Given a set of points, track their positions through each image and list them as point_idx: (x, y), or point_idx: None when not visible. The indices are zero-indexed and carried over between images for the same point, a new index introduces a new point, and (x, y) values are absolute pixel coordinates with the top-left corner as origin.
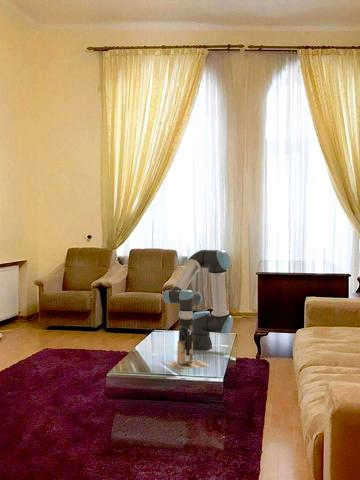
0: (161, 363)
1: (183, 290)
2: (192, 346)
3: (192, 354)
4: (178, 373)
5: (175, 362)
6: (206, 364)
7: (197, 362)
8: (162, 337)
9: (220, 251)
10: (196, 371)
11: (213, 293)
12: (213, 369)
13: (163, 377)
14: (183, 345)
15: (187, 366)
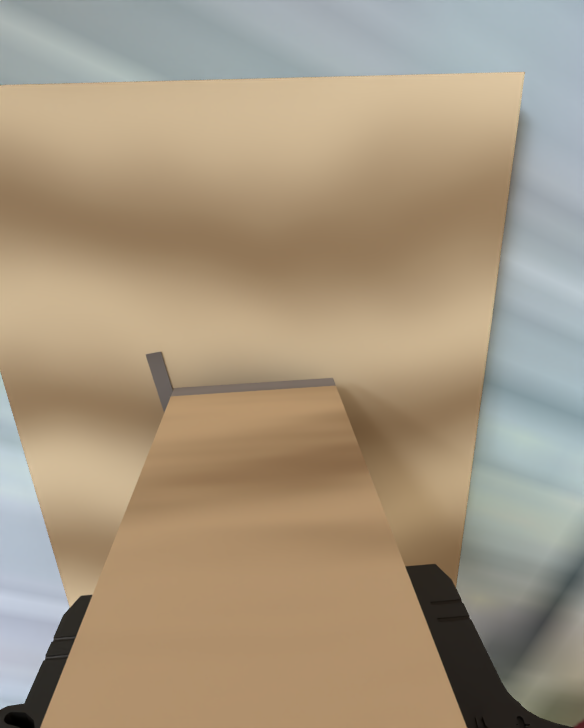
0: (4, 635)
1: None
2: (447, 690)
3: (369, 477)
4: (503, 577)
5: (100, 541)
6: (359, 87)
7: (159, 208)
8: None
9: None
10: (524, 366)
11: None
12: (551, 35)
13: (560, 708)
14: None
15: (374, 458)
